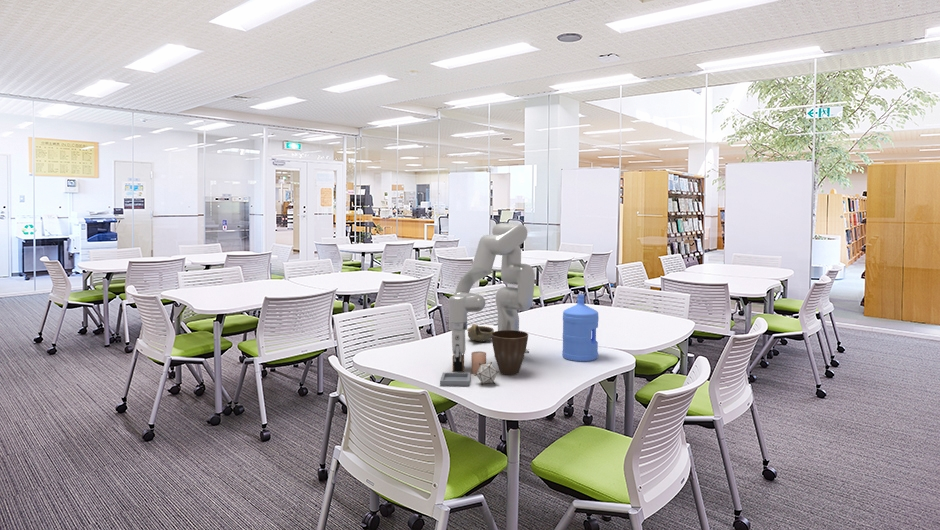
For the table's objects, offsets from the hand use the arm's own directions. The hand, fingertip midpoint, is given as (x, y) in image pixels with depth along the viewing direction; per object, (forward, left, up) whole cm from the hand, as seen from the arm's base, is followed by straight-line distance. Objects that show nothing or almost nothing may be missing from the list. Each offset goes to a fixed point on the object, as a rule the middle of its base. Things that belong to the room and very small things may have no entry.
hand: (458, 368), depth 232 cm
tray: (0, +16, -1) cm, 16 cm away
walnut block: (0, 0, -1) cm, 1 cm away
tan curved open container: (-7, -52, -1) cm, 52 cm away
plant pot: (-21, +3, -1) cm, 21 cm away
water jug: (-53, -22, -1) cm, 57 cm away
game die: (-12, +18, -1) cm, 22 cm away
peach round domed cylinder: (-9, +3, -1) cm, 9 cm away
